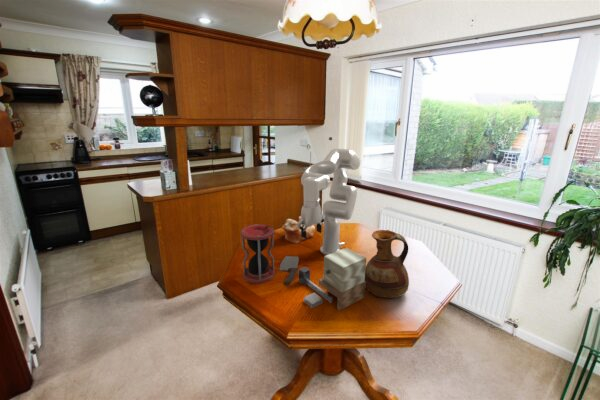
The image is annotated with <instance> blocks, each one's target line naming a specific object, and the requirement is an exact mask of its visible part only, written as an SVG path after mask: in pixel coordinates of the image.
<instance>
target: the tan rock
mask: <svg viewBox="0 0 600 400" xmlns="http://www.w3.org/2000/svg"><path fill="white" fill-rule="evenodd" d="M300 220H301V215H300V216H298V221H297V220H295V219H292V218H286V220H285V223H284V224H283V225H282V229H283V230H284V232H285V236H284V239H285V240H286V241H288V242H289V243H293V244H299V243H300V242H303V241H306V240H308V239H309V240H310V239H312V238H313V237H314V235H315V231H316V225H312V226H309V227H307V229H306V230H305V231H306V239H305V238H303V237H302V236H301V230H300V229H299V228H298V226H297V223H298V222H299V221H300ZM301 226H302V224H301ZM304 227H305V226H304ZM304 227H303V228H304Z"/></svg>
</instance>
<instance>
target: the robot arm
mask: <svg viewBox="0 0 600 400" xmlns="http://www.w3.org/2000/svg"><path fill="white" fill-rule="evenodd" d="M359 167H361V158H360V156H359V154H357V153H356V152H355V151H354V150H352V149H348V148H333V149H331V150H330V151H329V153H328V154H327V155H326V157H325V158H324V159H323V160H321V161H318V162H316V163H314V164H311V165H309V166H308V167H307V168H306V169H305V170H304V172H302V173H303V174H302V176H301V177H300V178H301V179H300V182H301V183H300V184H301V185H302V186H303V205H302V207H301V209H300V210H301V212H300V216H301V220H300V221H299V220H298V221H297V222H298V223H297V226H298V228H299V229H300V230H301V236H302V237H303V238H305V239H306V231H305V230H306V229H307V227H309V226H312V225H314V226H316V232H318V233H320V234H321V233H323V234H322V245H321V246H320V248H319V251H320V253H321V254H322V255H324V256H326V255H329V254H331V253H334V252H337V251H340V250H342V249H341V247H342V246H344V245H345V242H343V241H341V242H340V228H341V226H340V225H341V223H340V221H339V220H344V221H348V220H350V219H351V218H352V217H353V213H354V210H355V205H356V202H357V197H358V192H357V191H358V189H357V188H356V187H355V186H353V185H348V184H347V183H348V180H349V178H348V175H347V173H346V172H345V170H352V171H355V170H356V171H357V170H358V169H359ZM331 174H333V177H332V181H331V179H330V176H329V175H331ZM330 183H331V185H330ZM329 186H330V189H329V195H328V196H329V198H331V200H326V201H325V202H323V204H322V208H321V204H320V201H321V198H320V191H324V190H326V189H327V188H329ZM301 224H302V226H301ZM304 226H305V227H304ZM322 226H323V230H322ZM303 227H304V228H303ZM322 231H323V232H322ZM306 240H307V239H306Z"/></svg>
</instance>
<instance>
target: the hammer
mask: <svg viewBox="0 0 600 400" xmlns="http://www.w3.org/2000/svg"><path fill="white" fill-rule="evenodd" d="M298 282H299V283H300V284H302V285H303V286H305V285H307V286H308V287H310V288H311V289H312V290H313V291H315V293H316V294H318V295H320V297H321V298H322V297H323V298H324V299H325V300H326V301H328V302H329V304H330V303H333V296H332V295H330V294H329V293H327V292H326V291H325V290H323V289H322V288H321V287H319V286H318V285H317V284H315V283H314V282H313V281H311V269H310V268H308V267H307V266H303V267H300V268H298Z"/></svg>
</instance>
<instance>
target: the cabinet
mask: <svg viewBox="0 0 600 400" xmlns="http://www.w3.org/2000/svg"><path fill="white" fill-rule="evenodd" d="M323 257H324V258H323V276H322V278H319V279H318V285H319V286H321V287H322V288H323V289H325V290H326V291H327V292H329V293H330V294H331V295H333V296H334V297H336V298H337V301H336V302H337V303H336V309H337V310H338V311H341V310H343V309H345V308H347V307H349V306H351V305H352V304H354V303H356V302H358V301H360V300H362V299H364V298H365V297H366V289H367V288H366V282H365V270H366V265H367V257H366V256H364V255H363V254H360V253H358V252H356V251H354V250H352V249H350V248H348V247H345V248H342V249H341V250H340V251H337V252H334V253H331V254H329V255H324V256H323Z"/></svg>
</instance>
